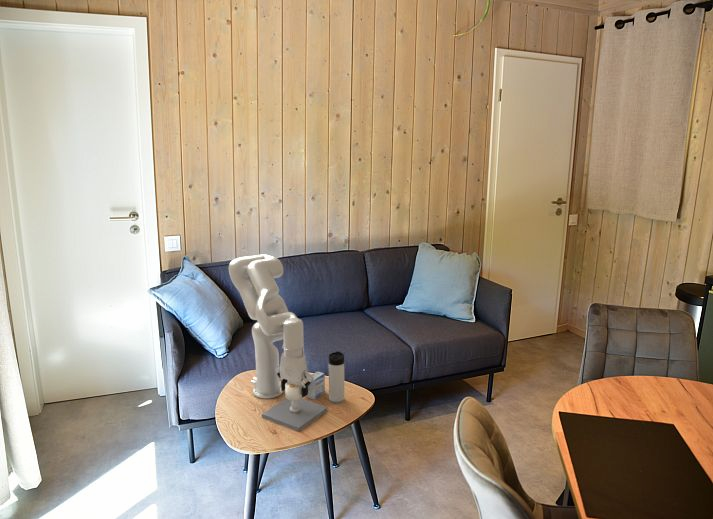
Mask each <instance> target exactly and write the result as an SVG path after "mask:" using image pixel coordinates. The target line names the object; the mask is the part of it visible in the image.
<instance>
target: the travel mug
mask: <svg viewBox="0 0 713 519" xmlns="http://www.w3.org/2000/svg"><path fill="white" fill-rule="evenodd" d="M328 401H329V403H331V404H332V405H333V404H335V405H340V404H342V403H344V401H345V354H344V353H343V352H341V351H337V350H336V351H335V352H332V353H329V355H328Z"/></svg>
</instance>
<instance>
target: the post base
mask: <svg viewBox="0 0 713 519" xmlns="http://www.w3.org/2000/svg"><path fill="white" fill-rule="evenodd" d="M328 410H329V409H328V406H326V405H325V406H324V405H322V404H319V403H316V402H314V401H311V400H308V399H305V398H302V399H300V400H296V401H292V400H288V399H286V398H285V399H283V400H282V401H280V402H278V403H277V404H275V405H274V406H272V407H271V408H269V409H267V410H266V411H264V412H262V413H261V418H262V419H265V420H268V421H270V422H273V423H275V424H277V425H281V426H283V427H285V428H287V429H288V428H289V429H290V430H293V431H296V432H300V431H302V430H303V429H304V428H306V427H307V426H309V425H310V424H311V423H313V422H315V420H317V419H318V418H320V417H321V416H323V415H324V414H326V413H327V412H328Z"/></svg>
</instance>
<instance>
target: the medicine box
mask: <svg viewBox="0 0 713 519" xmlns="http://www.w3.org/2000/svg"><path fill="white" fill-rule="evenodd" d="M311 375H312V376H313V377H314V379H313V381H312V383H311V384H310V385H308V395H306V396H305V397H306V398H308V399H311V400H316V399H318V398H319V397H320V396H322V395H323V394H324V393H325V392H326V373H324V372H321V371H315V372H313V373H312V374H311ZM307 380H308V378H307Z"/></svg>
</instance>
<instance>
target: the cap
mask: <svg viewBox="0 0 713 519" xmlns="http://www.w3.org/2000/svg"><path fill="white" fill-rule="evenodd" d="M302 387H303V386H302V385H301V383H296V382H293V381H289V380H288V382H286V384H285V390H284V393H285V399H288V400H292V401H296V400H300V399H304V397H302Z"/></svg>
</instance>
